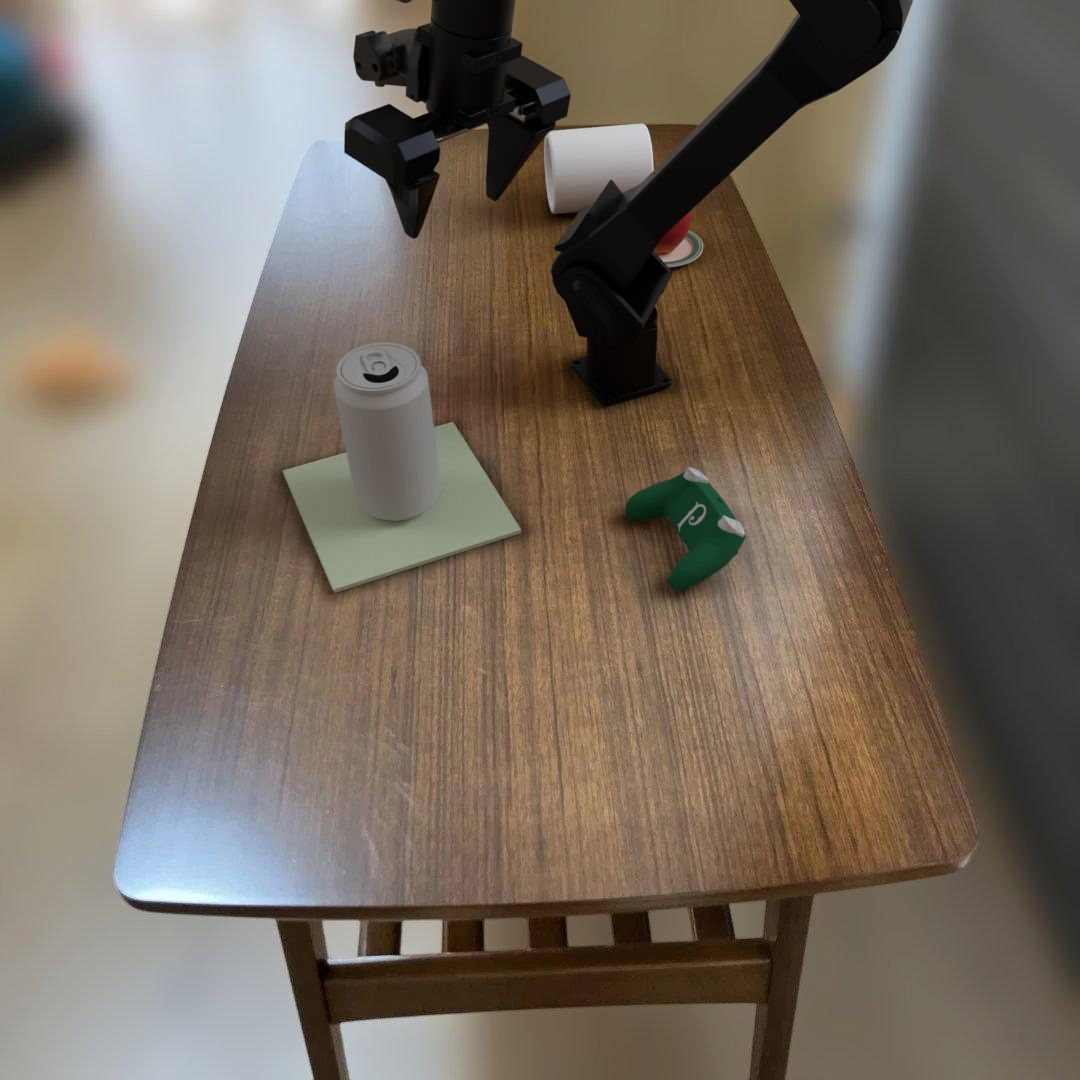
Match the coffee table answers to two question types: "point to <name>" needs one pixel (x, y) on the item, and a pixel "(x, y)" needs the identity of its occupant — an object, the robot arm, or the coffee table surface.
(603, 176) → the mug
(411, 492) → the beverage can
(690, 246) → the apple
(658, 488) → the gaming controller
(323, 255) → the coffee table surface
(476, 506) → the felt mat
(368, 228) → the coffee table surface
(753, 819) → the coffee table surface
